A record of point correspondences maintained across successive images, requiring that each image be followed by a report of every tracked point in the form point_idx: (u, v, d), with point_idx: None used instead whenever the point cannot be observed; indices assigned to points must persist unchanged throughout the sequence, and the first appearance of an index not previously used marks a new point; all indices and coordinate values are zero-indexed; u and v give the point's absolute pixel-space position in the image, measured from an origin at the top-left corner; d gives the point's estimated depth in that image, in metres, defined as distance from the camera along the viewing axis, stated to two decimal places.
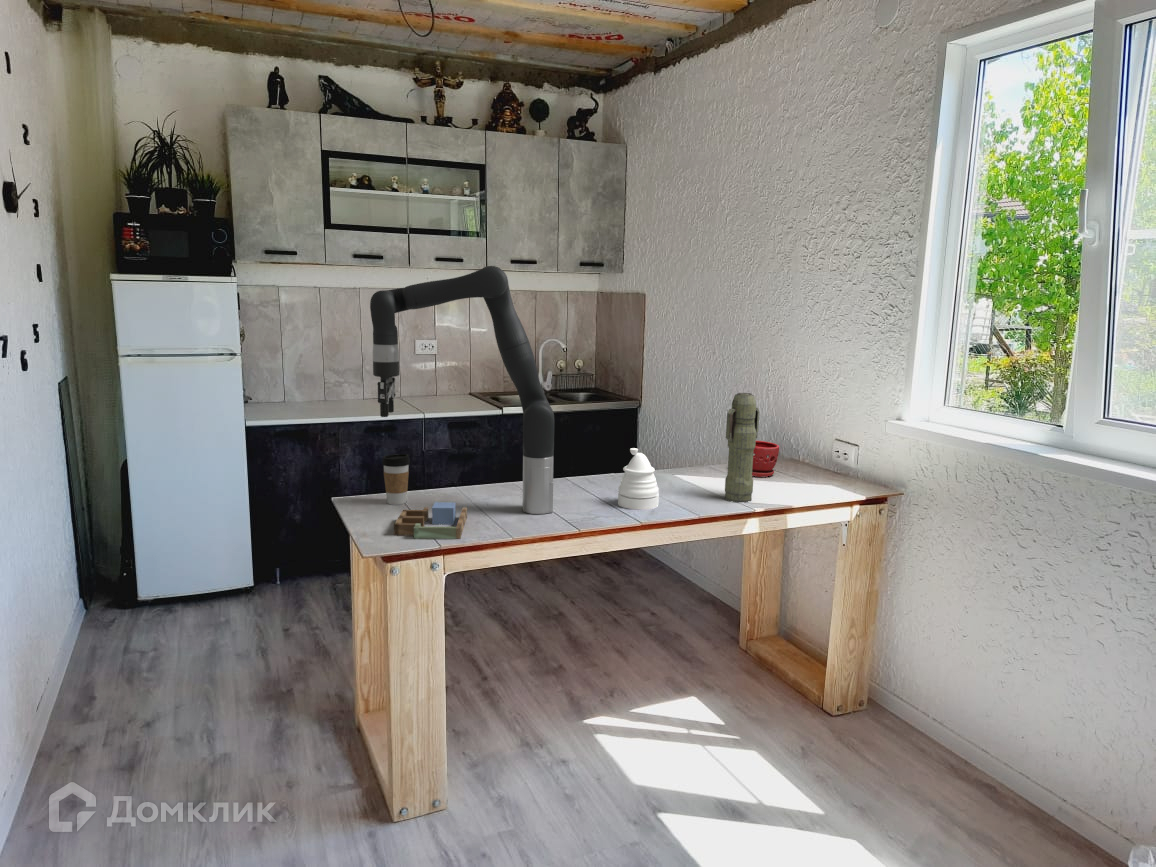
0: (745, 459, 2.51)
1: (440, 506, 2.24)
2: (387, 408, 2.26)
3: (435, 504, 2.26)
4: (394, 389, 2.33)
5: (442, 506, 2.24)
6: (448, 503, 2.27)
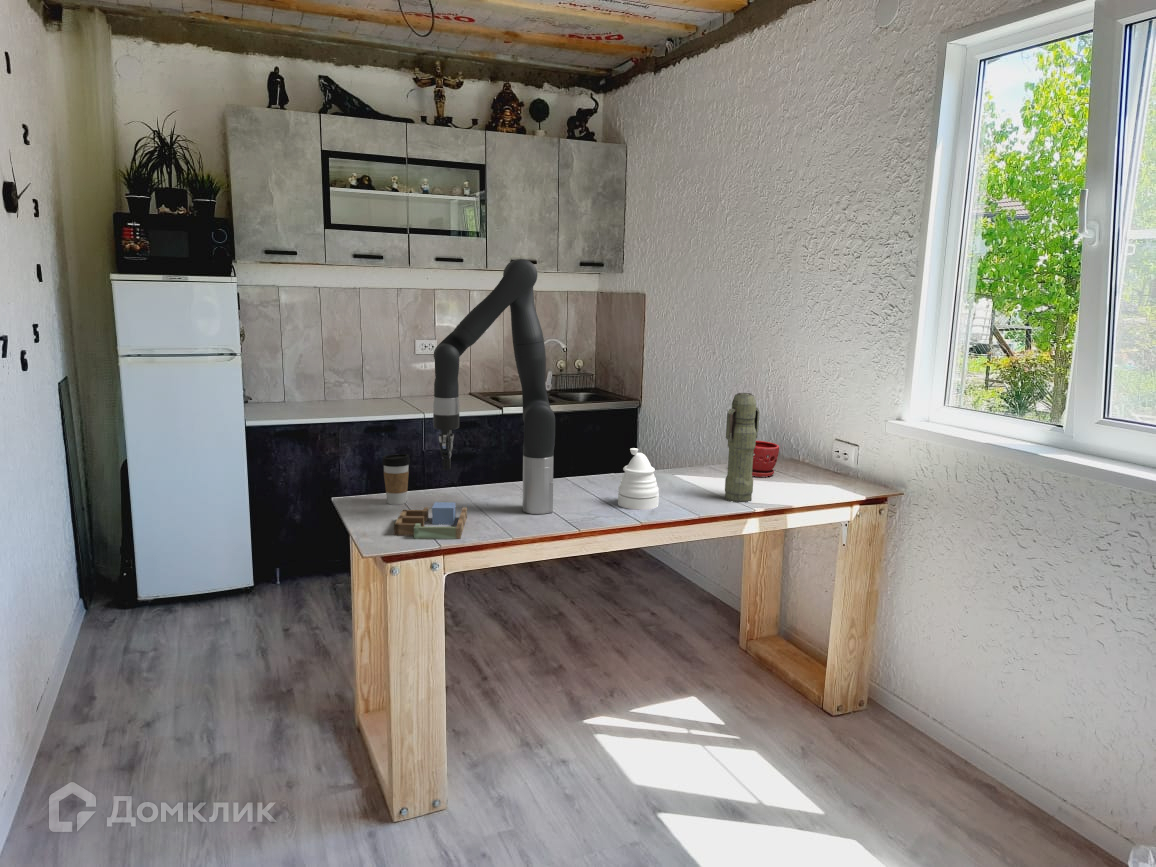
0: (745, 459, 2.51)
1: (440, 506, 2.24)
2: (449, 462, 2.30)
3: (435, 504, 2.26)
4: (452, 444, 2.31)
5: (442, 506, 2.24)
6: (448, 503, 2.27)
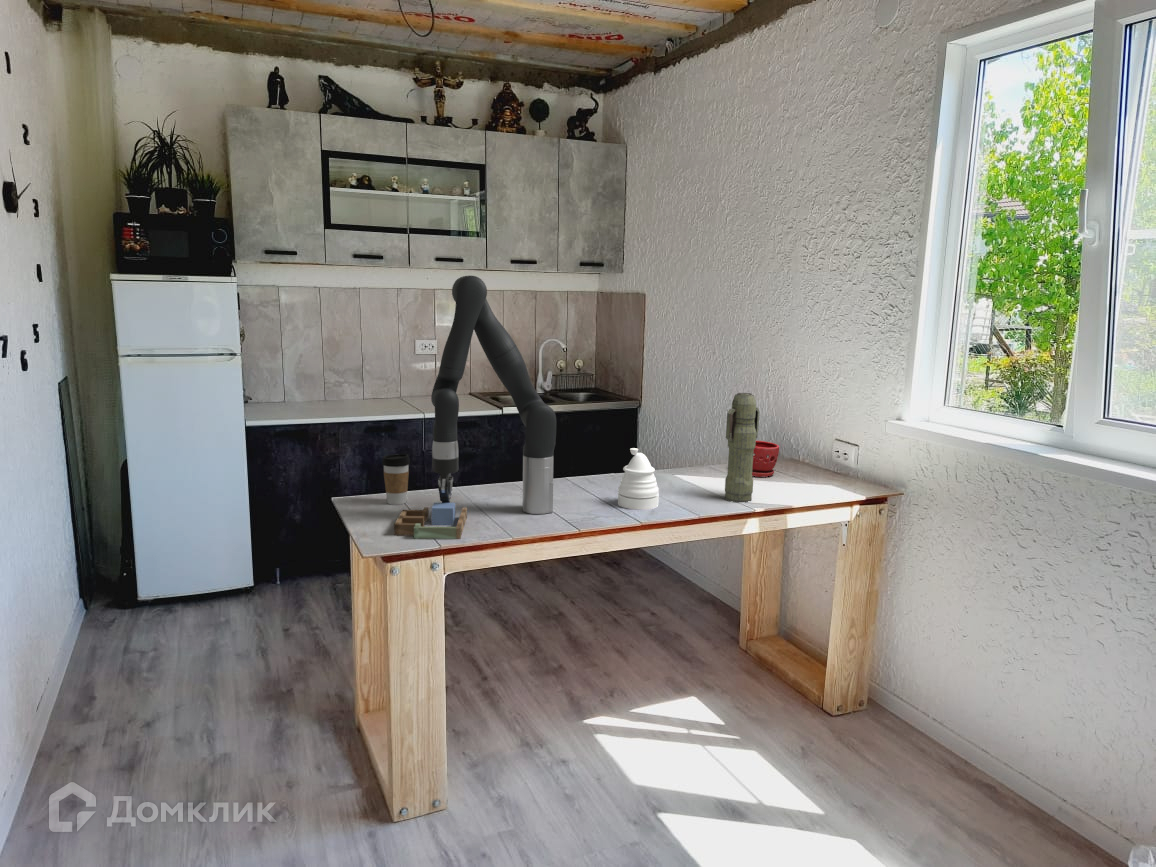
0: (745, 459, 2.51)
1: (440, 506, 2.23)
2: None
3: (435, 504, 2.25)
4: None
5: (441, 506, 2.23)
6: (448, 503, 2.26)
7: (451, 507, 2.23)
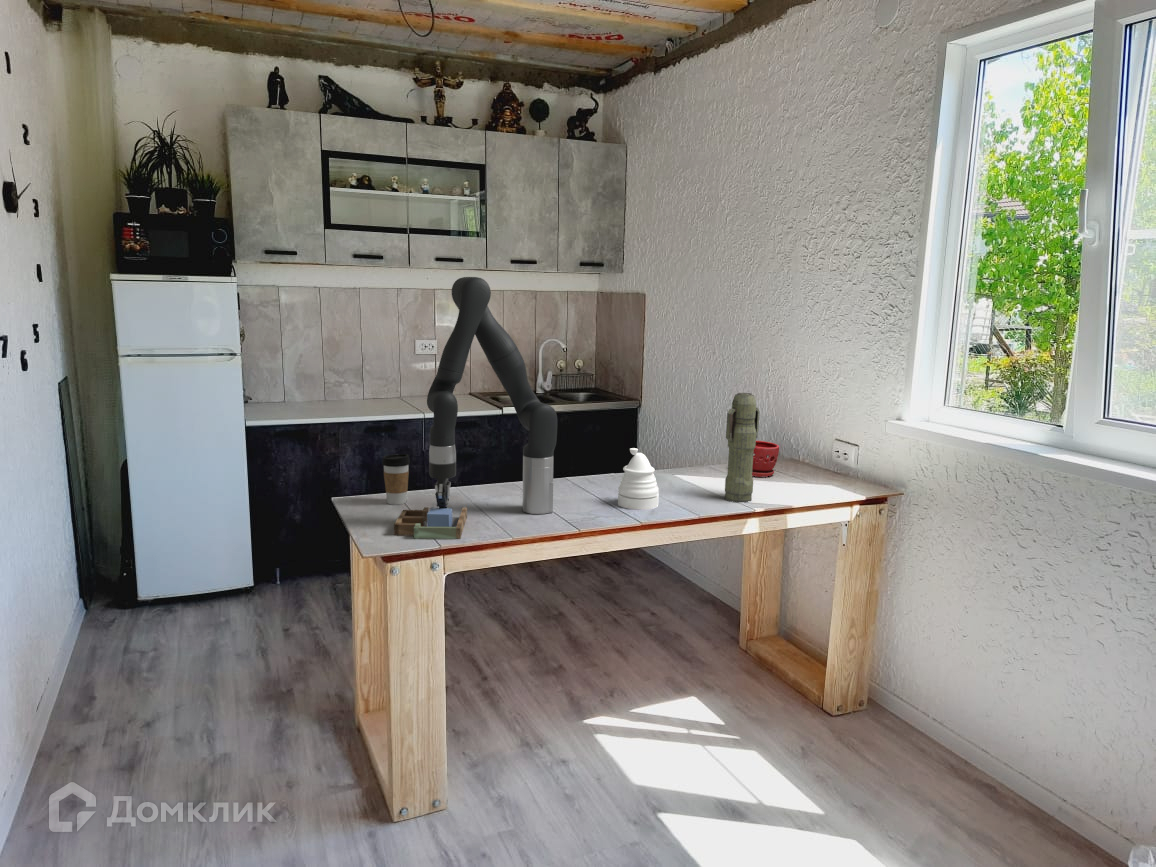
0: (745, 459, 2.51)
1: (436, 512, 2.17)
2: None
3: (431, 510, 2.19)
4: (449, 492, 2.25)
5: (437, 512, 2.17)
6: (444, 509, 2.20)
7: (447, 513, 2.16)
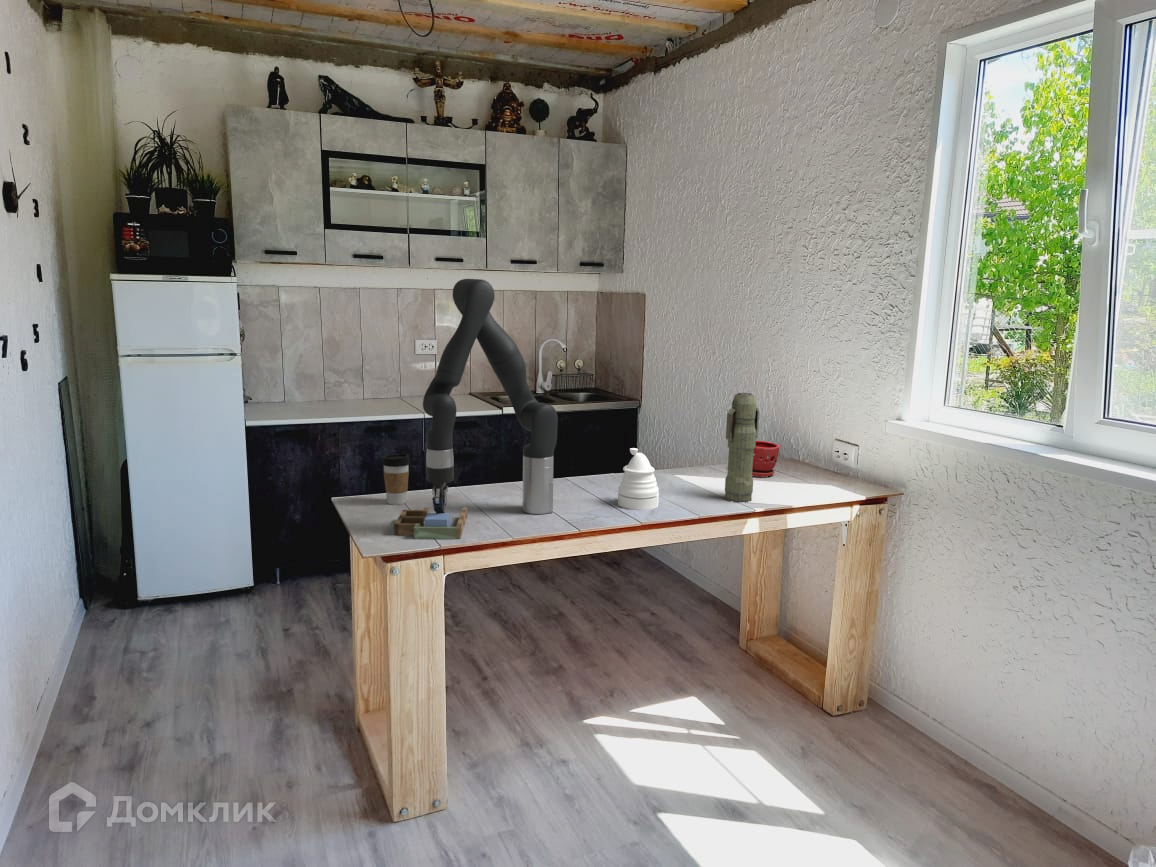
0: (745, 459, 2.51)
1: (434, 517, 2.12)
2: None
3: (428, 515, 2.14)
4: (446, 497, 2.20)
5: (435, 517, 2.12)
6: (442, 514, 2.15)
7: (445, 518, 2.12)
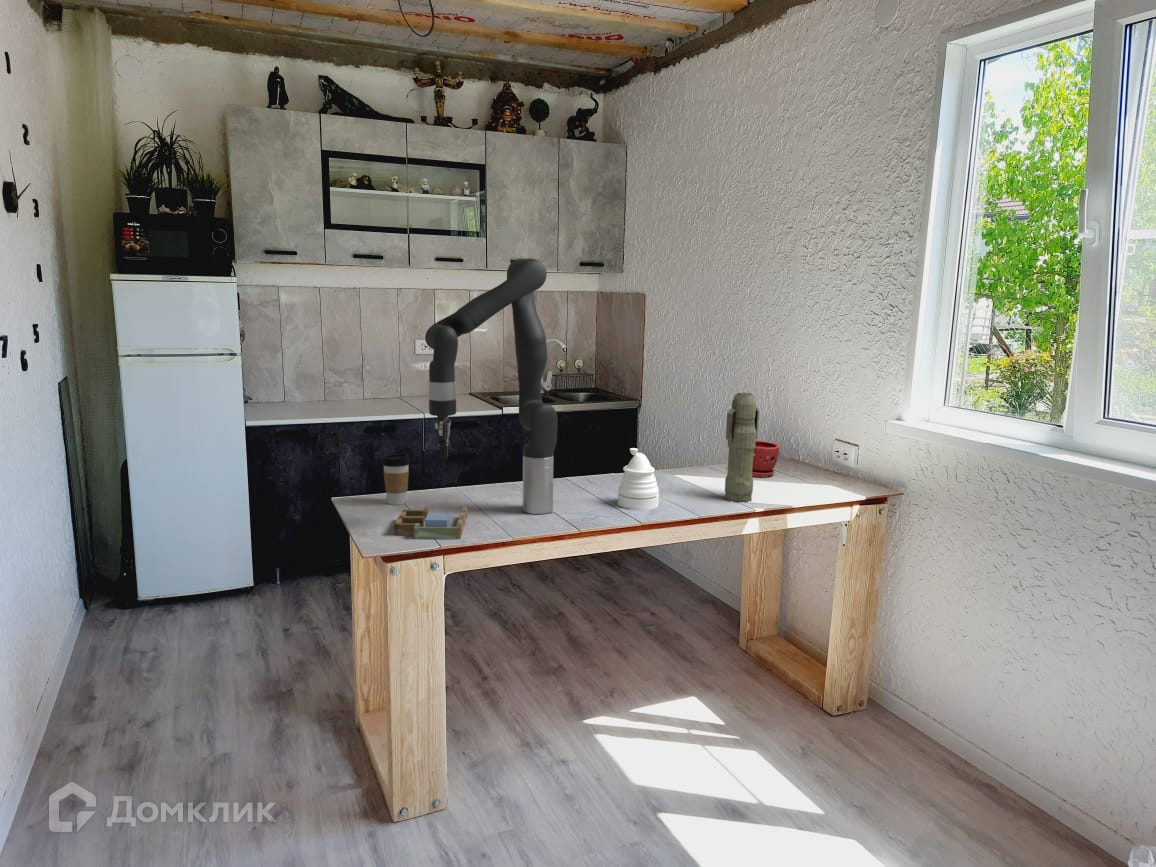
0: (745, 459, 2.51)
1: (434, 518, 2.12)
2: (446, 450, 2.19)
3: (428, 516, 2.14)
4: (449, 431, 2.20)
5: (435, 517, 2.12)
6: (442, 515, 2.15)
7: (445, 519, 2.12)
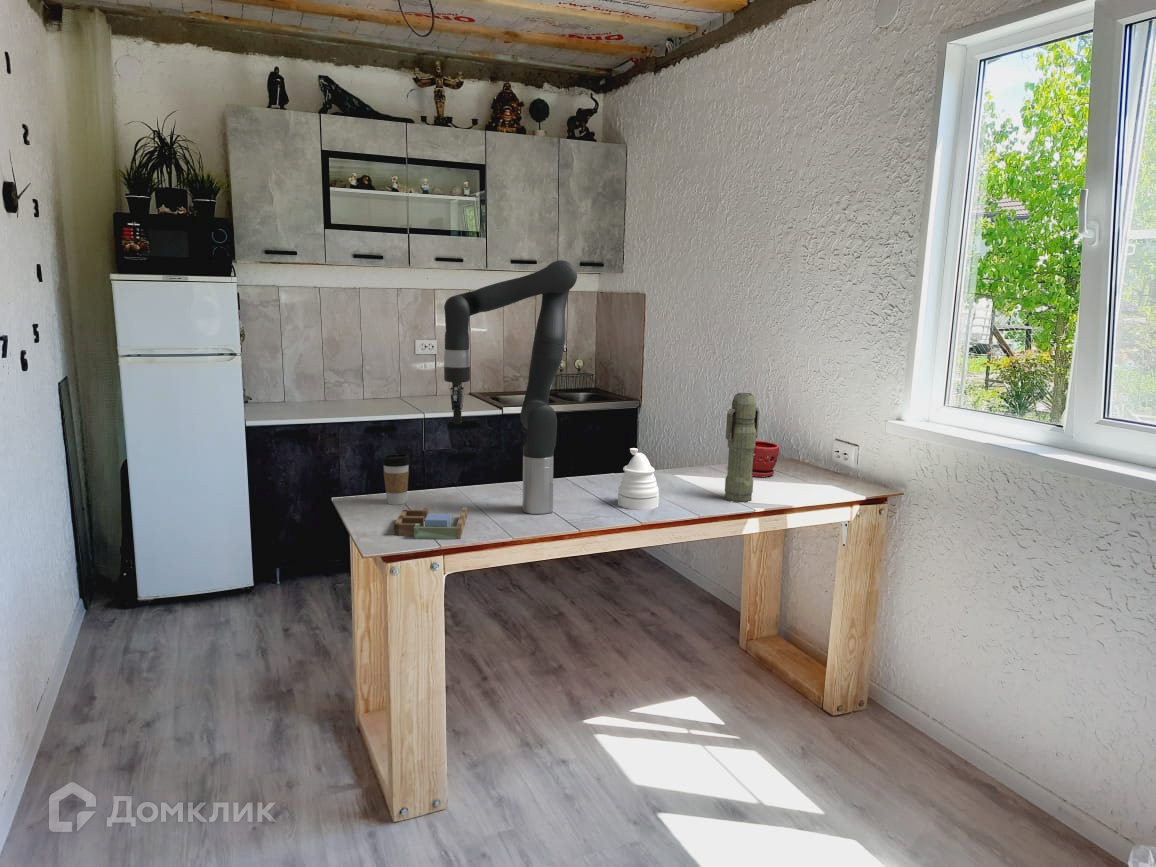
0: (745, 459, 2.51)
1: (434, 518, 2.12)
2: (460, 415, 2.30)
3: (428, 516, 2.14)
4: (463, 398, 2.31)
5: (435, 517, 2.12)
6: (442, 515, 2.15)
7: (445, 519, 2.12)
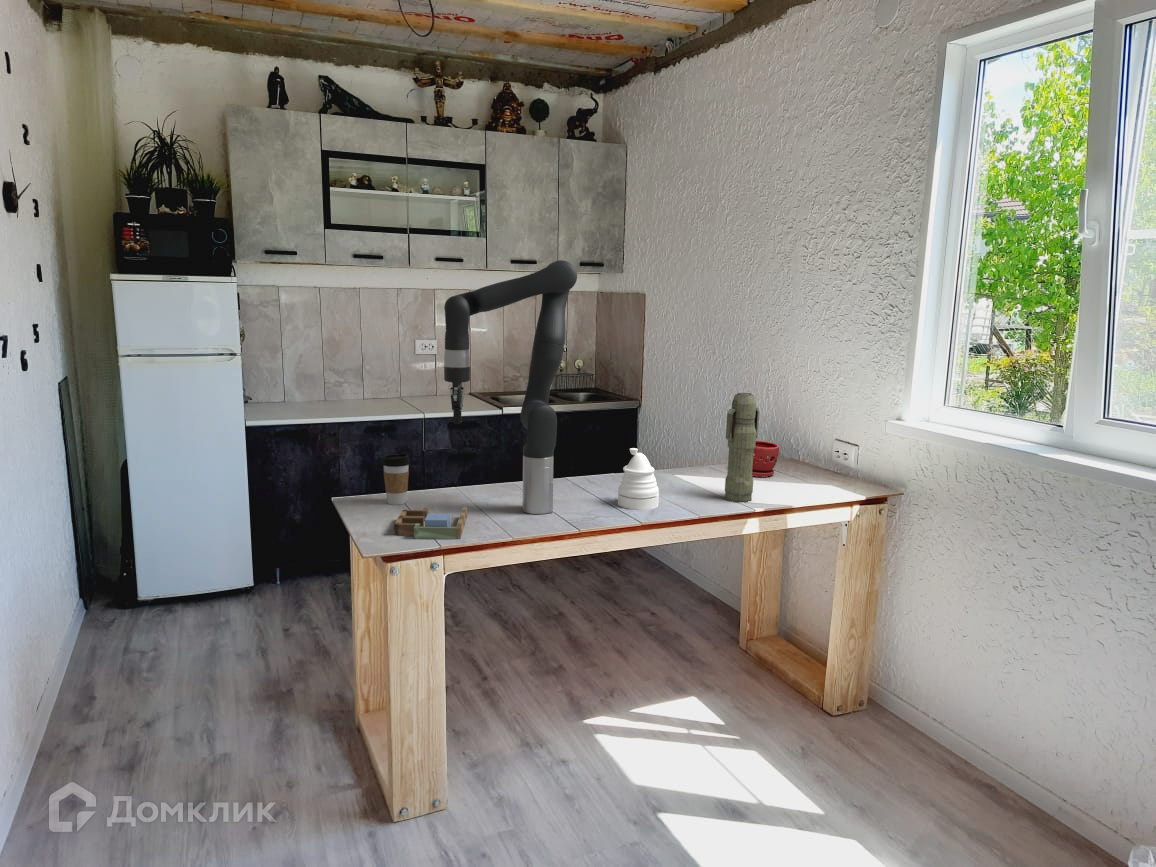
0: (745, 459, 2.51)
1: (434, 518, 2.12)
2: (460, 415, 2.30)
3: (428, 516, 2.14)
4: (463, 398, 2.31)
5: (435, 517, 2.12)
6: (442, 515, 2.15)
7: (445, 519, 2.12)
